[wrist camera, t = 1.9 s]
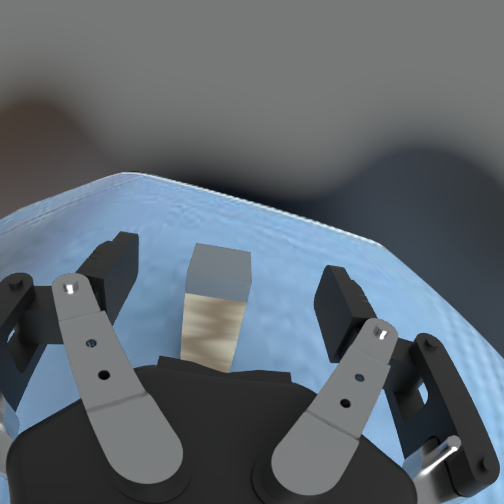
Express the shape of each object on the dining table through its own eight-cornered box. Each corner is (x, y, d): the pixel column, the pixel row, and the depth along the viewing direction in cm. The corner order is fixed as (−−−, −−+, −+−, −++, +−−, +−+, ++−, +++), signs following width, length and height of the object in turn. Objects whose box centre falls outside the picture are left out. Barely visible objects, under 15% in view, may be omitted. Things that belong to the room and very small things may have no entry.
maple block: (179, 370, 28) (187, 271, 23) (186, 337, 33) (196, 242, 27) (228, 378, 29) (251, 282, 23) (229, 344, 33) (250, 252, 28)
